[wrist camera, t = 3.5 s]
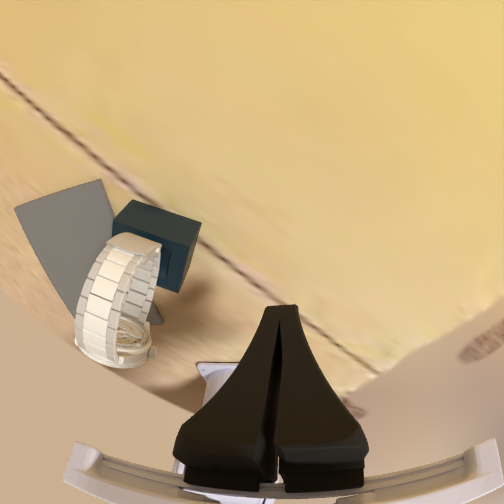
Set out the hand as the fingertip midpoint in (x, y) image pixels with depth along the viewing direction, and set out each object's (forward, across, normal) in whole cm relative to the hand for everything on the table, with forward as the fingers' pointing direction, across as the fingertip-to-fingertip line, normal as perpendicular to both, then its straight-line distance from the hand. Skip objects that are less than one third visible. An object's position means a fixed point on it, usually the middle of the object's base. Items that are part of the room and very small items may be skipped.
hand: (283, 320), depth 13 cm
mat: (+9, +19, +2) cm, 21 cm away
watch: (+9, +9, 0) cm, 13 cm away
